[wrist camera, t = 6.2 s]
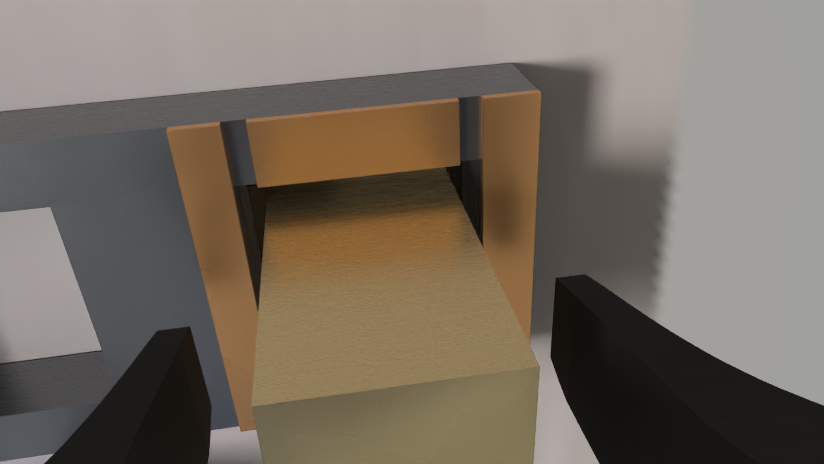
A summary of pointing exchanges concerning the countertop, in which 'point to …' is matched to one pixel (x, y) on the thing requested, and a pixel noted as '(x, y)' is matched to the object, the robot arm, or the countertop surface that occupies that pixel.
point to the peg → (386, 330)
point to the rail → (238, 212)
